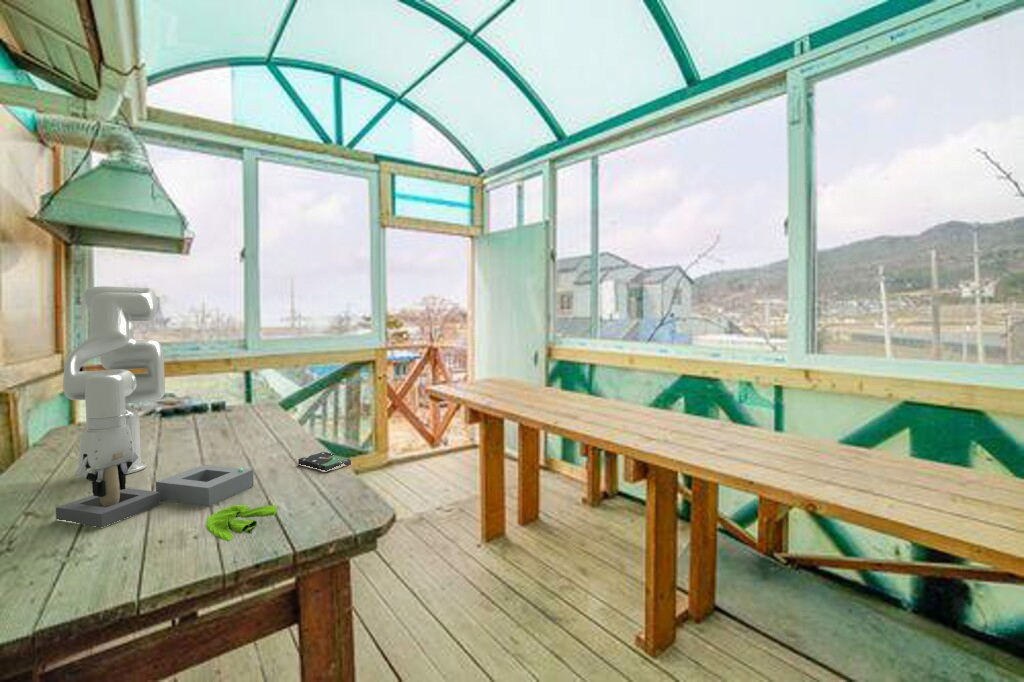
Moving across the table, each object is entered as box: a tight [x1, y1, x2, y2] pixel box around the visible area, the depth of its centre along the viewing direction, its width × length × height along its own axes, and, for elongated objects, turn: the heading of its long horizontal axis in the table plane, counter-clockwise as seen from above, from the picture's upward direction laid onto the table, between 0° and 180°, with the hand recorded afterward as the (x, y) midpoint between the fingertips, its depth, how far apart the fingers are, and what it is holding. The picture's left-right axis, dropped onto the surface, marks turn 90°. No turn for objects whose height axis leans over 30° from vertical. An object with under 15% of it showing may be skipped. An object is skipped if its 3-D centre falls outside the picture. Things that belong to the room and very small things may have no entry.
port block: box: [155, 464, 255, 507], centre depth 131 cm, size 18×15×6 cm
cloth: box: [205, 504, 278, 542], centre depth 113 cm, size 20×22×2 cm
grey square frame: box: [55, 487, 161, 528], centre depth 117 cm, size 15×14×4 cm
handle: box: [100, 451, 124, 508], centre depth 117 cm, size 5×6×15 cm
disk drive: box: [297, 451, 352, 471], centre depth 156 cm, size 10×3×15 cm
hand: (109, 491), depth 117 cm, fingers closed on handle, 4 cm apart
